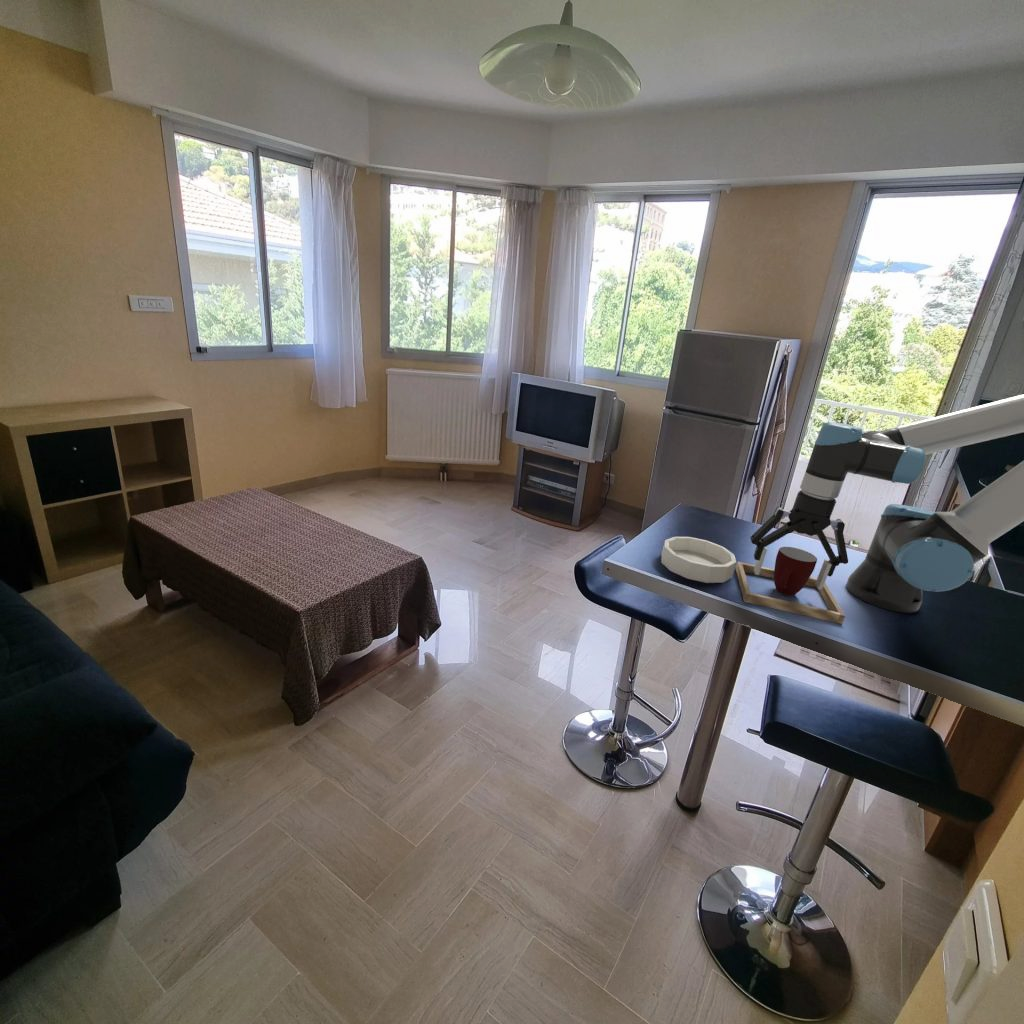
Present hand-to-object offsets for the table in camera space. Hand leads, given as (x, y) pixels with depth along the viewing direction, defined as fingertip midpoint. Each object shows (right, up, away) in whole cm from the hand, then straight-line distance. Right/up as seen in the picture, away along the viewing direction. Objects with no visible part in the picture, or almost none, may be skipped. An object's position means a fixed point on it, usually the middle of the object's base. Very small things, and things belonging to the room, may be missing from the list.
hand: (786, 579), depth 120 cm
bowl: (-18, +2, +10) cm, 21 cm away
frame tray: (0, -3, +1) cm, 4 cm away
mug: (0, -4, +1) cm, 4 cm away
